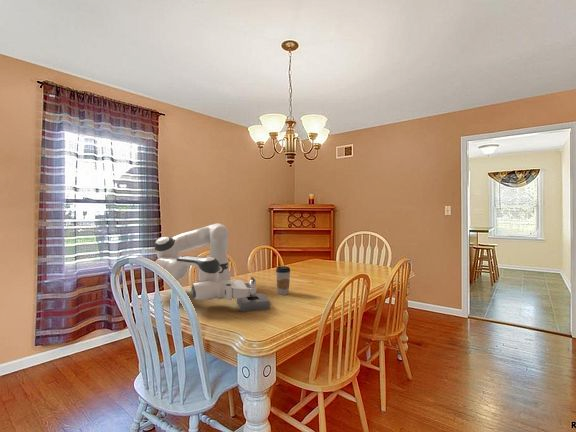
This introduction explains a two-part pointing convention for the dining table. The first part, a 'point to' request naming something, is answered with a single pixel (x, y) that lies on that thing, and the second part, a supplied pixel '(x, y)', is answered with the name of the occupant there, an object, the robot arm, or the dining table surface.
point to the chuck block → (253, 303)
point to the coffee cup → (283, 279)
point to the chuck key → (252, 284)
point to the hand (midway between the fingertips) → (254, 287)
